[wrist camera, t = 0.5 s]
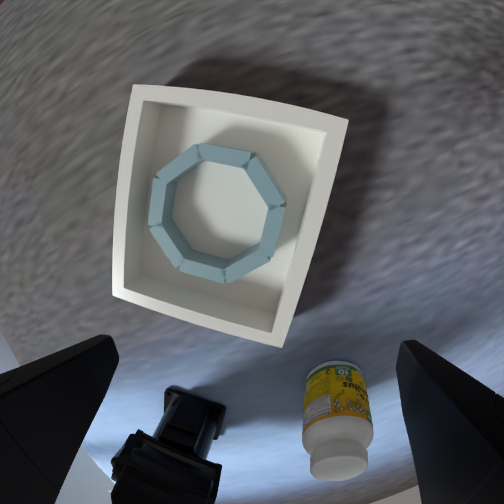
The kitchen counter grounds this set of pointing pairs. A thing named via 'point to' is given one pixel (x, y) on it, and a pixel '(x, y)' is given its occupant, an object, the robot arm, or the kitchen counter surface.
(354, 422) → the supplement bottle
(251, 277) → the socket box
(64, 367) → the robot arm
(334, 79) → the kitchen counter surface
